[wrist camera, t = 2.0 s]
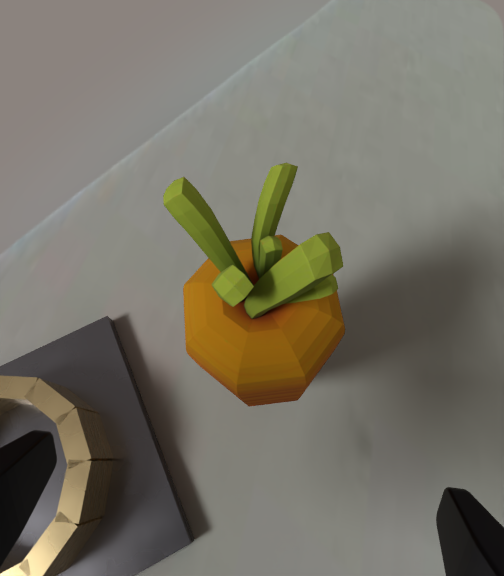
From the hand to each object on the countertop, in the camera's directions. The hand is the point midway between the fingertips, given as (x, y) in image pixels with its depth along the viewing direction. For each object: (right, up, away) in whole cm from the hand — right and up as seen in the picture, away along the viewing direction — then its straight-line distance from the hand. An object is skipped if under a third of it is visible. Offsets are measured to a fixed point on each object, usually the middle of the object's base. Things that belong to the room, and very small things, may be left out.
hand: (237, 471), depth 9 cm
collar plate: (-11, -5, +11) cm, 16 cm away
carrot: (+1, -1, +12) cm, 12 cm away
